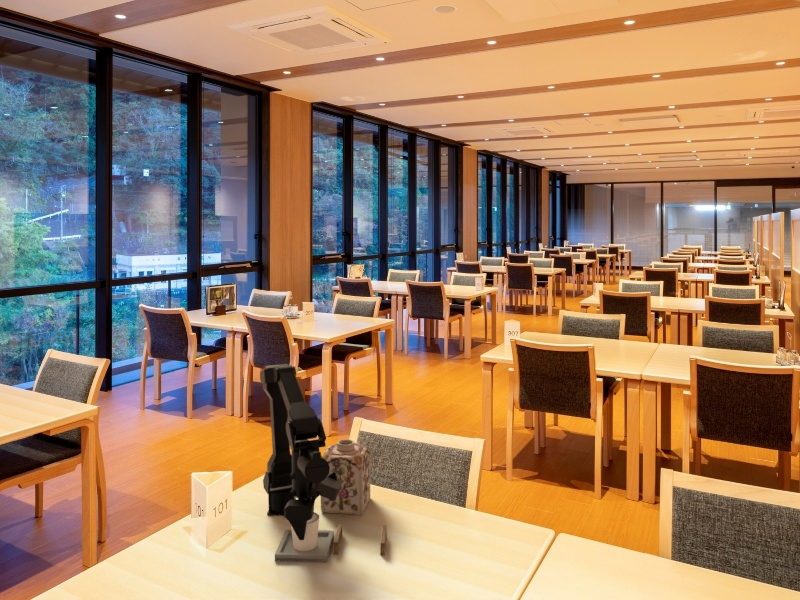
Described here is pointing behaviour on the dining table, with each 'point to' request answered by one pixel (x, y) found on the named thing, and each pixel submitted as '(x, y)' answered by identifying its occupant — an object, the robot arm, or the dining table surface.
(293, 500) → the robot arm
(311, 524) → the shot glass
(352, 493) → the decorative jar
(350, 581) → the dining table surface
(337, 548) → the wooden pieces
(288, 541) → the tray
